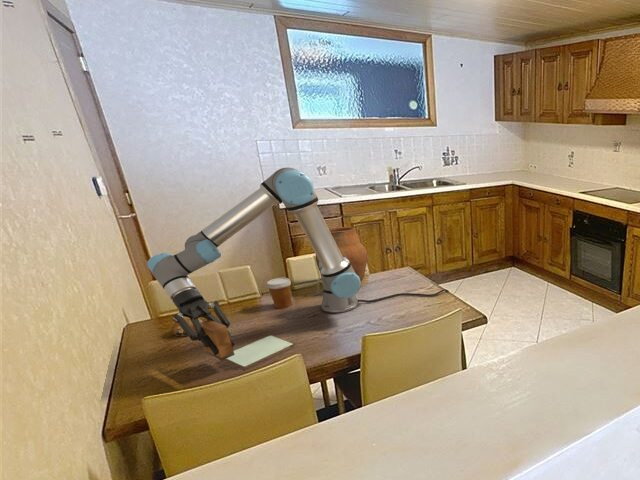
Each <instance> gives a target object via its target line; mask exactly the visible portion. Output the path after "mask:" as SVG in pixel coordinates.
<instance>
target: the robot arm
mask: <svg viewBox="0 0 640 480" xmlns="http://www.w3.org/2000/svg"><path fill="white" fill-rule="evenodd" d="M319 202H320V199H319V198H318V196H317V193H316V191H315V187H314V184H313V181H312V180H311V178H310V177H309V176H308V175H306V174H305V173H304V172H302V171H300V170H298V169H296V168H293V167H282V168H279V169H277V170H276V171H275V172H274V173H272V174H271V175H270V176H269V177H268V178H266V179H265V180H264V181H262V182H261V183H260V184H259V188H258V189H256V190H255V191H254V192H252V193H251V194H250V195H248V196H247V197H245V198H244V199H243V200H241V201H240V202H238V203H237V204H236V205H235V206H233V207H232V208H230V209H229V210H228V211H226V212H225V213H223V214H222V215H221V216H219V217H218V218H217V219H215V220H214V221H212V222H211V223H209V225H208V226H206V227H204V228H203V229H202V230H201V231H199V232H197V233H196V234H192V235H191V236H189V237H188V238H187V239H186V240H185V242H184V250H181V251H179V252H177V253H176V254H173V255H172V254H171V253H169V252H162V253H159V254H154V255H153V256H151V257H150V258H149V259H148V260H147V262H146V265H147V268H148V269H149V270H150V272H151V275H152V276H153V277H154V278H155V279H156V281H157V282H158V283H159V284H160V286H161V288H162V289H163V290H164V292H165V294H167V296H168V297H169V299H170V300H172V303H173V304H174V306H175V307H176V309H178V313H175V314H173V317H172V321H173V322H175V323H178V324H179V325H180V326H181V328H182V329H183V330H184V331H185V333H186V334H187V335H188V336H187V337H189V339H190V340H191V341H192V342H195V341H199V342H201V343H202V345H203V347H204V346H205V347H209V348H210V349H211V350H212V352H213V353H214V354H215V355H217V354H218V352H219V350H218V348H217V347H216V346H215V344H214V343H213V341H212V340H211V339H210V337H209V336H208V335H206V336H204V332H203V330H202V327H201V325H200V322H199V320H198V318H199V319H200V318H203V319H205V320H206V321H207V320H211V321H215V322H217V323H220V324H222V325H225V326H226V328H227V331H228V334H229V338H230V341H231V344H232V348H233V349H234V346H235V343H234V341H233V340H232V338H231V337H232V334H231V332H230V331H229V330H228V329H229V327H230V325H231V322H230V321H229V319H228V317H227V316H226V314H225V313H224V311H223V310H222V309H221V307H220V303H219V301H218V300H217V301H216V300H215V301H214V302H209V301H207V300H206V299H205V298H204V297H203V295H202V294H201V292H200V291H199V290H198V289H197V287H196V285H195V284H194V282H193V281H192V280H191V279H190V278H189V276H188V275H190V274H192V273H194V272H196V271H198V270H200V269H202V268H204V267H206V266H207V265H209V264H212V263H214V262H215V261H216V260H218V259H220V258H221V256H222V253H221V252H220V250H219V247H220V246H221V245H222V244H224V243H225V242H226V241H228V240H229V239H231V238H232V237H233V236H234V235H236V234H237V233H238V232H240V231H241V230H242V229H244V228H246V226H248V225H249V224H251V223H252V222H254V220H255V219H257V218H259V217H260V216H261V215H263V214H264V213H265V212H267V211H268V210H270V209H271V208H272V207H274V206H275V205H281V204H283V205H284V208H285V209H286V211H287V212H289V213H291V214H294V217H295V218H296V220H297V222H298V224H299V226H300V228H301V229H302V231H303V233H304V235H305V237H306V240H308V243H309V244H310V246H311V248H312V250H313V252H314V254H316V256H317V257H318V259H319V261H320V262H319V269H320V271H319V275H320V277H321V285H322V289H323V290H322V292H323V295H322V301H321V310H322V311H323V312H324V313H327V314H341V313H347V312H350V311H353V310H354V309H356V308H357V307H358V306H359V303H374V302H379V301H382V300H385V299H390V298H394V297H398V296H421V297H435V296H437V295H439V294H441V293H443V292H447V293H449V292H450V290H448V289H445V288H444V289H441V290H439V291H437V292H436V293H435V292H434V293H430V294H427V293H416V292H415V293H413V292H402V293H401V292H400V293H395V294H391V295H387V296H382V297H379V298H375V299H370V300H369V299H368V300H367V299H358V297H357V293H358V292H359V291H360V289H361V286H362V282H361V281H360V278H359V276H358V275H357V274H356V273H355V272H354V270H353V268H352V266H351V264H350V262H349V260H347V258H345V257H343V256H342V254H341V252H340V250H339V248H338V246H337V244H336V242H335V241H334V239H333V237H332V235H331V233H330V231H329V229H330V228H329V226H328V225H327V223H326V220H325V218H324V216H323V215H322V213H321V211H320V208H319V207H318V203H319ZM319 269H318V270H319ZM444 290H445V291H444ZM209 308H211V310H213V312H214V314H212V312H211V311H210V310H209ZM215 315H216V316H217V317H216V316H215ZM183 317H188V318H190V320H191V322H192V324H193V326H194V329H195V331H196V333H195V332H194V331H193V329H192V328H191V327H190V326H189V324H188V323H187V322H186V321H185V319H184V318H183Z"/></svg>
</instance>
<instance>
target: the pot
mask: <svg viewBox="0 0 640 480" xmlns="http://www.w3.org/2000/svg"><path fill="white" fill-rule="evenodd" d="M328 229H329V231H330V233H331V235H332V237H333V239H334V241H335V242H336V244H337V246H338V248H339V250H340V252H341V254H342V256H343V257H345V258H347V260H349V262H350V264H351V266H352V268H353V270H354V272H355V273H356V274H357V275H358V276H359V278H360V281H361V283H362V282H363V280H364V278H365V274H366V270H367V269H366V268H367V266H368V265H367V264H368V250H367V249H366V247H365V246H364V245H363V244H362V242H361V241H362V240H363V236H362V235H361V234H358V233H357V229H356V227H353V226H339V227H331V228H328ZM314 254H315V253H314ZM314 258H315V263H316V266H317V268H318V272H320V269H319V262H320V261H319V259H318V257H317V256H316V254H315V257H314Z"/></svg>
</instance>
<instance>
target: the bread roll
mask: <svg viewBox="0 0 640 480" xmlns="http://www.w3.org/2000/svg"><path fill="white" fill-rule="evenodd" d="M183 318H184V319H185V321H186V322H187V323H188V324H189V326H190V327H191V328H192V329H193V331H194V332H195V333H196V331H195V329H194V326H193V324H192V322H191V320H190V318H188V317H185V316H183ZM198 320H199V322H200V323H201V322H204V321H203V320H202V319H200V317H199V318H198ZM172 334H173V335H174V336H176V337H177V336H178V337H189V336H188V335H187V334H186V333H185V331H184V330H183V329H182V328H181V326H180V325H179V324H178V323H176V322H175V323H174V324H173V325H172Z"/></svg>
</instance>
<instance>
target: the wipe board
mask: <svg viewBox="0 0 640 480" xmlns="http://www.w3.org/2000/svg"><path fill="white" fill-rule="evenodd" d="M292 345H293V342H289V341H286V340H284V339H281V338H279V337H276V336H274V335H271V334H270V335H268V336H266V337H262V338H261V339H258V340H256V341H253V342H252V343H249V344H246V345H245V346H242V347H240V348H237V349H234V350H233V351H234V354H235V355H233V356H231V357H229V358H226V359H225V360H228V361H231V362H233V363H235V364H237V365H240V366H242V367H247V366H249V365H251V364H253V363H255V362H258V361H260V360H262V359H264V358H267V357H268V356H271V355H273V354H276V353H277V352H280V351H281V350H284V349H286V348H288V347H290V346H292Z"/></svg>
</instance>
